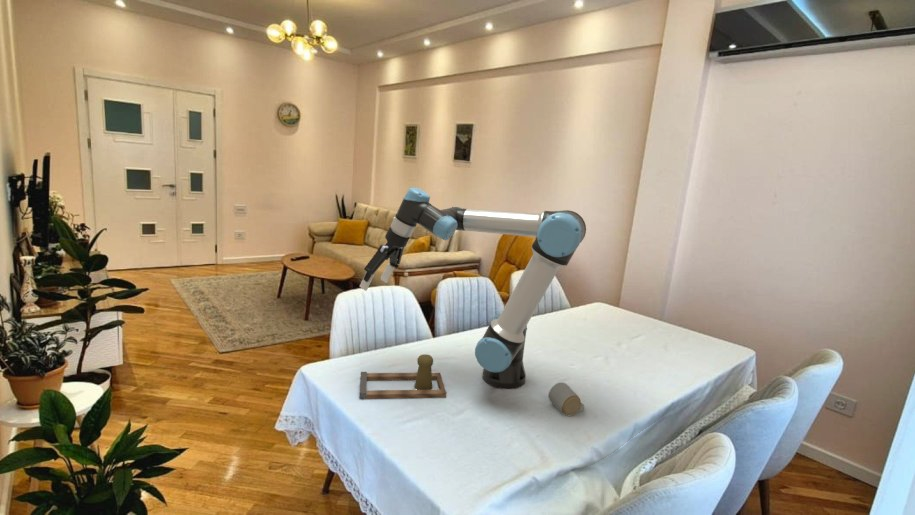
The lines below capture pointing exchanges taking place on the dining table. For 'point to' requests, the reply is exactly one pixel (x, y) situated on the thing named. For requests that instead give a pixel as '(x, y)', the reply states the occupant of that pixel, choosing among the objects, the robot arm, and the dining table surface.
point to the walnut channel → (404, 393)
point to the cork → (424, 373)
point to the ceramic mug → (565, 399)
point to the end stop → (363, 385)
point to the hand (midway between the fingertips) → (373, 284)
